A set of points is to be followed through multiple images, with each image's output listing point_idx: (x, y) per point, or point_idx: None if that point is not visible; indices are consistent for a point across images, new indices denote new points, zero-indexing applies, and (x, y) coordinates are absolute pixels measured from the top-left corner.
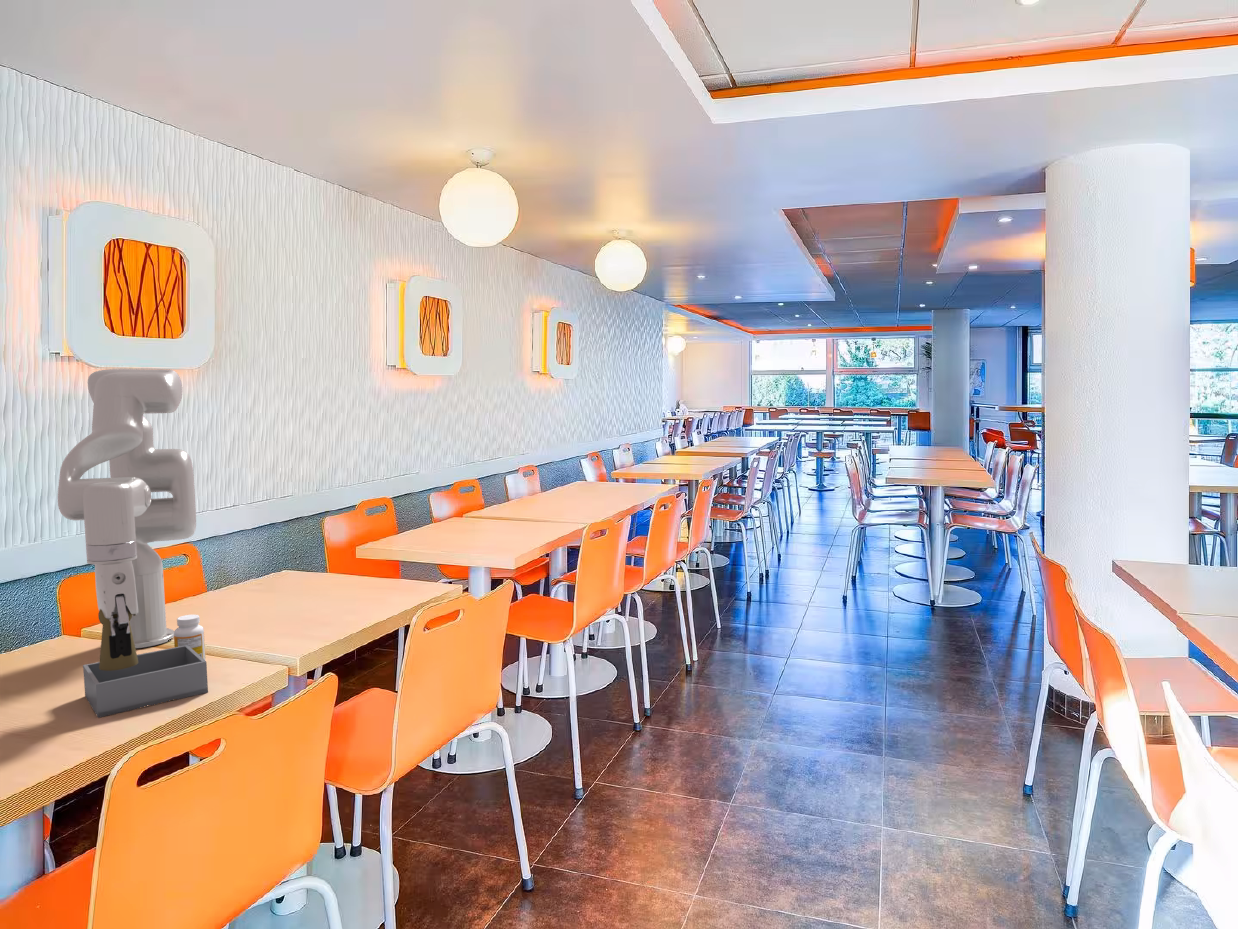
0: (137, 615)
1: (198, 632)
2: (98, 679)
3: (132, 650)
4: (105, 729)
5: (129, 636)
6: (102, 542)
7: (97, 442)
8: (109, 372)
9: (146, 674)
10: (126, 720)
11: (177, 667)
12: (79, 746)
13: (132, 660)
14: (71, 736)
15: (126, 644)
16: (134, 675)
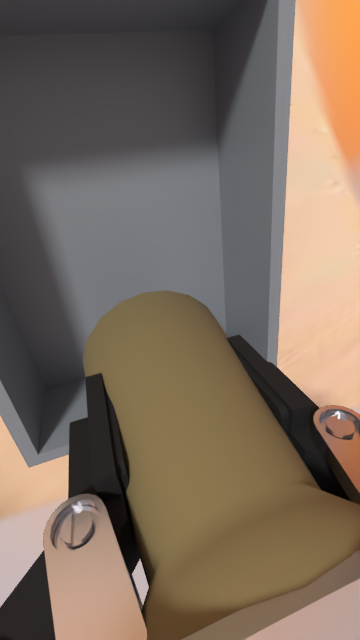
0: None
1: None
2: (33, 388)
3: (221, 338)
4: (302, 314)
5: (296, 394)
6: None
7: None
8: None
9: (280, 254)
10: (283, 280)
11: (288, 125)
12: (344, 344)
13: (213, 318)
14: (292, 364)
15: (289, 380)
16: (269, 293)
